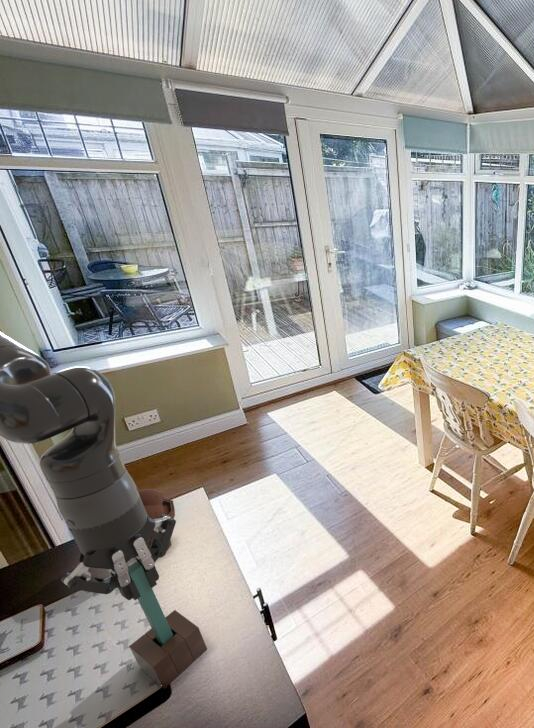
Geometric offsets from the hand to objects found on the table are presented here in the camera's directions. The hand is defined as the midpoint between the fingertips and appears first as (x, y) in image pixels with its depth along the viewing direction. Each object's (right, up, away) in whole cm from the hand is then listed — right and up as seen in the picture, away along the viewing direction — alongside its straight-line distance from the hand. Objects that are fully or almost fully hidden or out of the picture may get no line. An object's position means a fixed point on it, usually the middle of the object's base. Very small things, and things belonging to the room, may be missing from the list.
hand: (142, 590), depth 64 cm
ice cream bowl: (-21, -7, +27) cm, 34 cm away
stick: (-1, -16, +7) cm, 17 cm away
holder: (-1, -16, +7) cm, 17 cm away
